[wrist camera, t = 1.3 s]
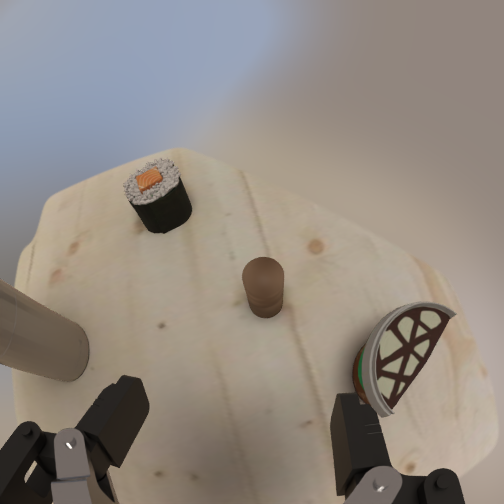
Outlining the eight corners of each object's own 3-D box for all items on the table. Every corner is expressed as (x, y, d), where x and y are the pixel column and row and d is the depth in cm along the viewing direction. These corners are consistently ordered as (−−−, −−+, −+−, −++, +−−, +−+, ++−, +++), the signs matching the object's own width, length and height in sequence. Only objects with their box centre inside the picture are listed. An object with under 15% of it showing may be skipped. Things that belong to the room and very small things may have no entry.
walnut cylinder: (248, 317, 33) (240, 294, 26) (250, 286, 35) (243, 256, 28) (282, 318, 33) (283, 295, 26) (282, 287, 34) (284, 257, 28)
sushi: (200, 215, 41) (186, 178, 34) (151, 242, 40) (128, 209, 33) (181, 183, 45) (167, 147, 38) (137, 207, 43) (117, 174, 36)
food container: (382, 305, 32) (415, 271, 23) (416, 334, 30) (458, 309, 21) (319, 381, 29) (338, 375, 20) (357, 413, 26) (390, 419, 17)
